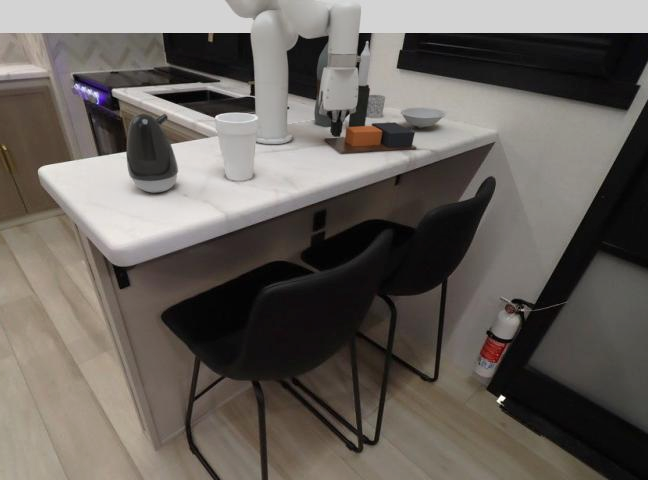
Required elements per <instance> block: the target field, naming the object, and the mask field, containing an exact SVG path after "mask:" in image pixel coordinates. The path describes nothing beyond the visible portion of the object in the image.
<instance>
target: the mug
mask: <svg viewBox="0 0 648 480" xmlns="http://www.w3.org/2000/svg"><path fill="white" fill-rule="evenodd" d="M385 101H386V96H385V95H382V94H369V100H368V107H367V114H366V118H375V119H376V118H378V119H379V118H382V117H383V114H384V107H385Z"/></svg>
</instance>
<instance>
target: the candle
mask: <svg viewBox="0 0 648 480" xmlns="http://www.w3.org/2000/svg"><path fill="white" fill-rule="evenodd" d="M369 44H370V43H369V41H368V40H367V41H365V46H364V48H363V50H362V52H361V54H360V56H361V62H359V68H358V101H357V106H356V112H355V113H352V114H349V117H348V126H347V127H360V126H366V120H367V116H366V114H367V107H368V100H369V95H370V94H371V93H370V92H371V88H370V85H369V84H368V77H369V69H370V62H371V52H370V47H369Z"/></svg>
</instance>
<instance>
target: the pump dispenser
mask: <svg viewBox="0 0 648 480" xmlns="http://www.w3.org/2000/svg"><path fill="white" fill-rule="evenodd" d="M168 118H169V117H168V115H167V114H166V113H164V114H162V115H160V116H158V117H157V118H155V117H154V116H153V115H152V114H149V113H146V112H140V113H138V114H135V115H134V116H133V118H132V119H131V121H130V123H129V126H128V130H127V136H126V150H125V151H126V154H125V155H126V167H127V173H128V176H129V177H130V178H131V179H132V181H133V183H134V185H135V186H137V187H138V188H139V189H140V190H142V191H143V192H146V193H152V194H157V193H158V194H159V193H163V192H166V191H168V190H170V189H172V187H174V185H175V183H176V181H177V177H178V173H179V166H178V162H177V159H176V155H175V151H174V148H173V147H172V144H171V142H170V140H169V138H168V136H167V133H166V132H165V129H163V126H162V125H163V124H164V123H165V122H166V121H167V120H168Z"/></svg>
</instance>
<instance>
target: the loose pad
mask: <svg viewBox="0 0 648 480" xmlns="http://www.w3.org/2000/svg"><path fill="white" fill-rule="evenodd" d="M344 137H345V142H347V143H348V144H350V145H351V146H352V147H354V146H373V145H380V142H381V137H382V130H380V129H378V128H376V127H375V126H372V125H365V126H360V127H348V126H346V127H345V135H344Z"/></svg>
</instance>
